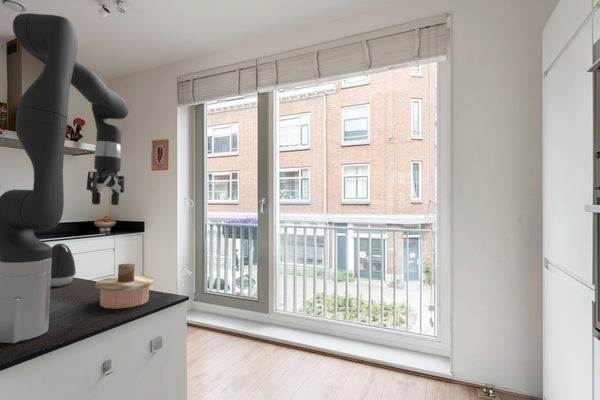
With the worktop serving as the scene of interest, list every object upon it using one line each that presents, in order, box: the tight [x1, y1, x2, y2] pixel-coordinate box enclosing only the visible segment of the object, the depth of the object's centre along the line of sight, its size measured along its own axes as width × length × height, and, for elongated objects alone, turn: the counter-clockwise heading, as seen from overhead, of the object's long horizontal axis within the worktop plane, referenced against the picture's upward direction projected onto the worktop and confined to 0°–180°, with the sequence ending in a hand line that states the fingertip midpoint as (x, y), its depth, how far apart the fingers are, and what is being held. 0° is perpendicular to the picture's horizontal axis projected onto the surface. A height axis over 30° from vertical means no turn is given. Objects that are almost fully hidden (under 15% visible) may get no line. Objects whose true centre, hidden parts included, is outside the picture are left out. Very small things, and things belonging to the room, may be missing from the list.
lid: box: [94, 263, 155, 291], centre depth 98 cm, size 16×16×6 cm
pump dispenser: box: [50, 243, 76, 288], centre depth 115 cm, size 10×10×15 cm
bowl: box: [99, 286, 150, 310], centre depth 98 cm, size 13×13×6 cm
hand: (105, 204), depth 105 cm, fingers open, 8 cm apart
